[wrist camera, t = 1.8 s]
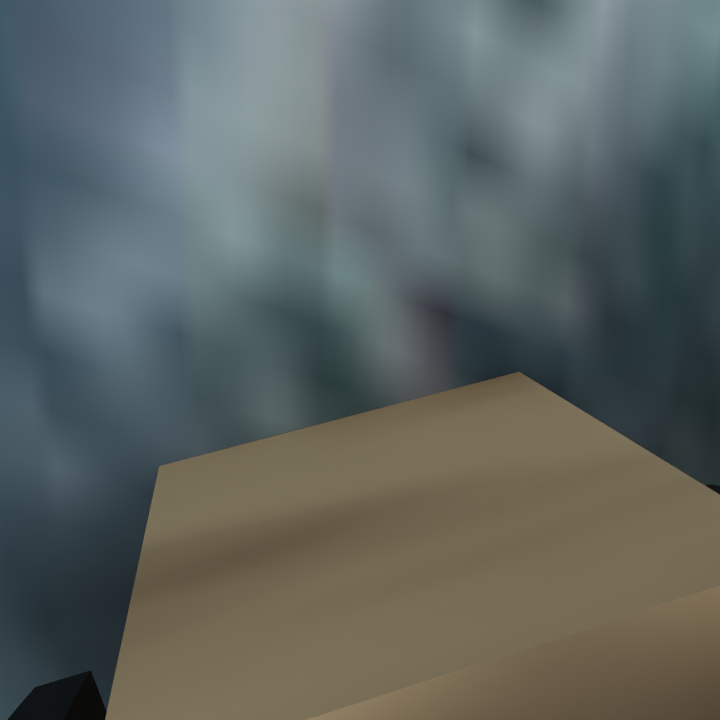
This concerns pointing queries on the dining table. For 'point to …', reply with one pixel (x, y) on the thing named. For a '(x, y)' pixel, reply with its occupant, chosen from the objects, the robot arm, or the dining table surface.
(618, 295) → the dining table surface
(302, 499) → the wooden cube
